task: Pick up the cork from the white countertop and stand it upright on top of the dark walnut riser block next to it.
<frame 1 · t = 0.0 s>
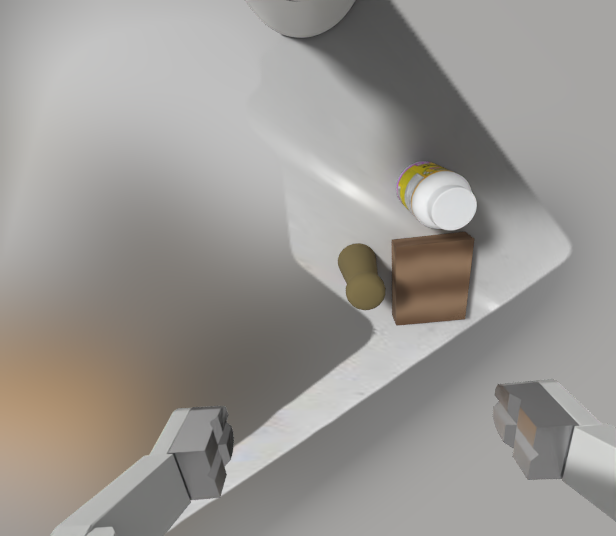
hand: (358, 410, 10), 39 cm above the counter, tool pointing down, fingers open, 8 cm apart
supplement bottle: (418, 184, 45), on the counter
walnut riser: (426, 276, 51), on the counter
cork: (356, 260, 50), on the counter
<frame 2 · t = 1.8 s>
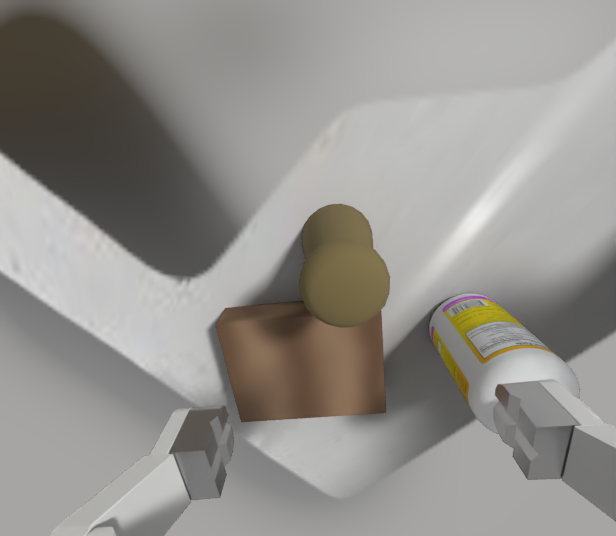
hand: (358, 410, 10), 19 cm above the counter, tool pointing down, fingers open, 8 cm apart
supplement bottle: (462, 321, 30), on the counter
walnut riser: (306, 350, 31), on the counter
cork: (336, 238, 27), on the counter
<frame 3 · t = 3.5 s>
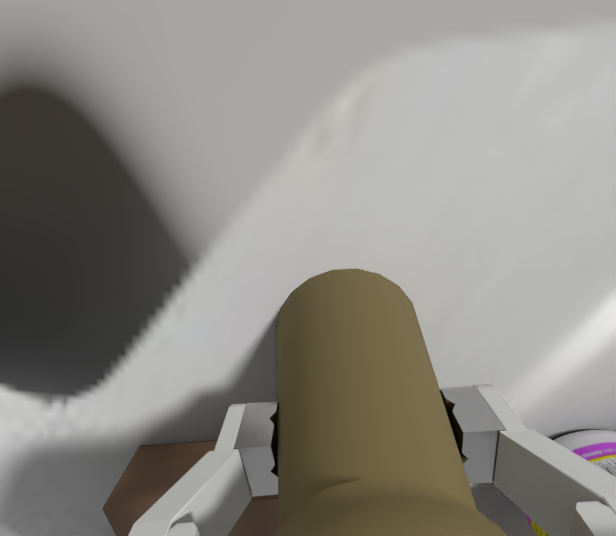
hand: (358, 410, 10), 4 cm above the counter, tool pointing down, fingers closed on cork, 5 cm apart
supplement bottle: (574, 467, 16), on the counter
walnut riser: (290, 509, 18), on the counter
cork: (346, 332, 14), on the counter, touching gripper
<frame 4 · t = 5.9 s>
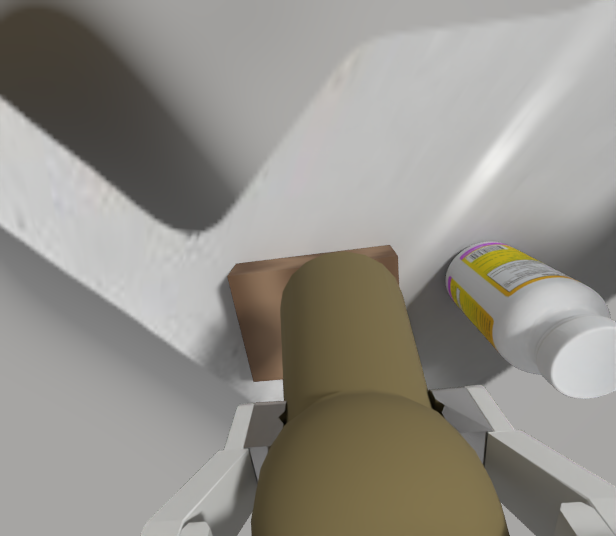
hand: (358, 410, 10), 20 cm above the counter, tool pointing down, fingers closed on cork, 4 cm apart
supplement bottle: (479, 273, 29), on the counter
walnut riser: (319, 308, 30), on the counter
cork: (341, 307, 16), point 13 cm above the counter, touching gripper
when the fingers open (10 cm above the counter, at t = 8.1 s): cork stays where it is, resting on walnut riser.
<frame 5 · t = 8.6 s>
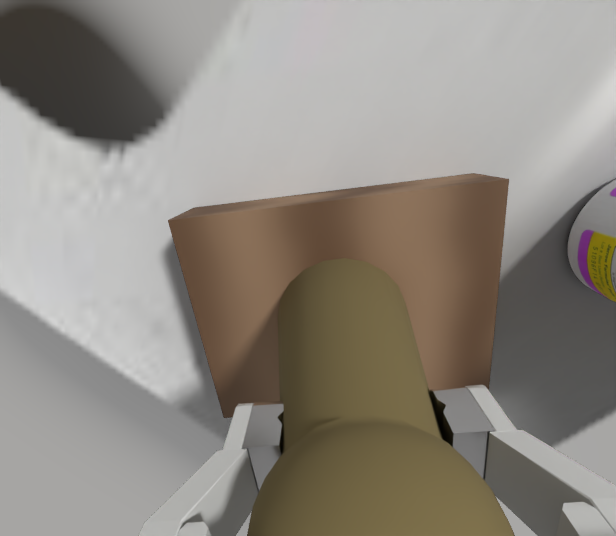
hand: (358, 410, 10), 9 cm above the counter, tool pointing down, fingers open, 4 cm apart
walnut riser: (339, 290, 18), on the counter
cork: (341, 316, 15), point 3 cm above the counter, touching walnut riser
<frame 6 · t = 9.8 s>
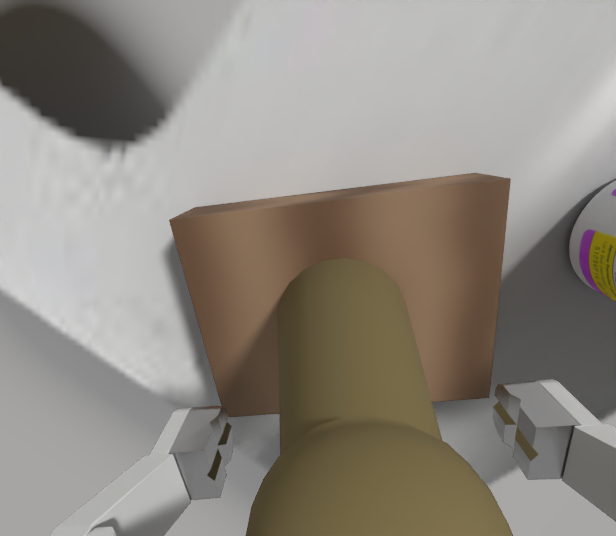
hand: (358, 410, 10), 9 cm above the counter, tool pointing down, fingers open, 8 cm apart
walnut riser: (340, 290, 18), on the counter
cork: (341, 316, 15), point 3 cm above the counter, touching walnut riser
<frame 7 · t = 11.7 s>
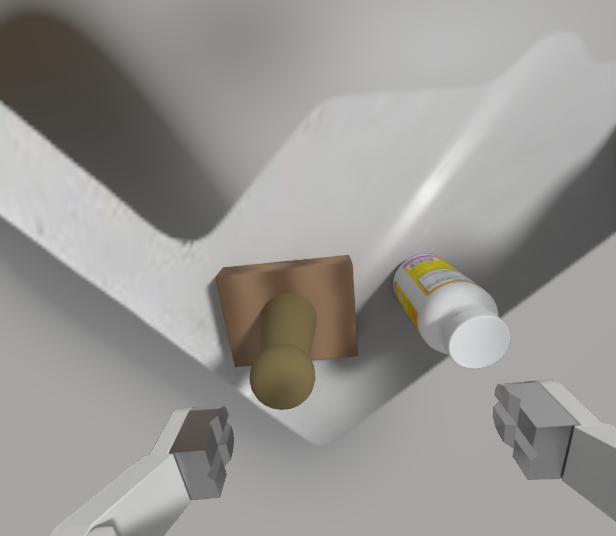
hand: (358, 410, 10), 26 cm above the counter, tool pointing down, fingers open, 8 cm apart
supplement bottle: (420, 279, 36), on the counter
walnut riser: (291, 305, 37), on the counter
cork: (289, 318, 34), point 3 cm above the counter, touching walnut riser
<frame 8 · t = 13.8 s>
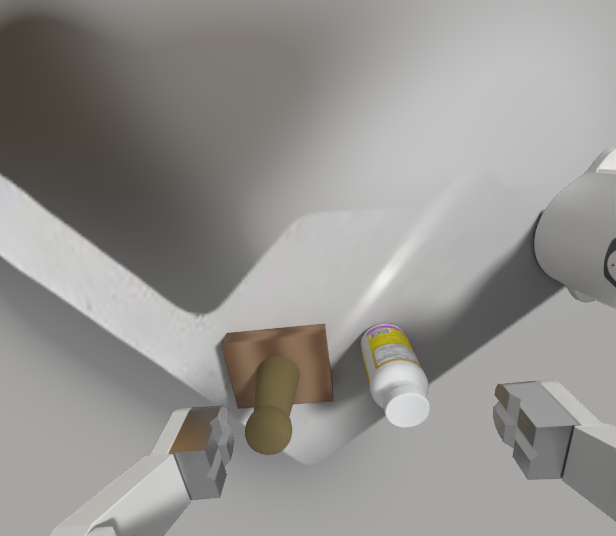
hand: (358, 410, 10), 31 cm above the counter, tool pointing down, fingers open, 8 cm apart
supplement bottle: (382, 340, 45), on the counter
walnut riser: (281, 360, 47), on the counter
cork: (278, 373, 44), point 3 cm above the counter, touching walnut riser
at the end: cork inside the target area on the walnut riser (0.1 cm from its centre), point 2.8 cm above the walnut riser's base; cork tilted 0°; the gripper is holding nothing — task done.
